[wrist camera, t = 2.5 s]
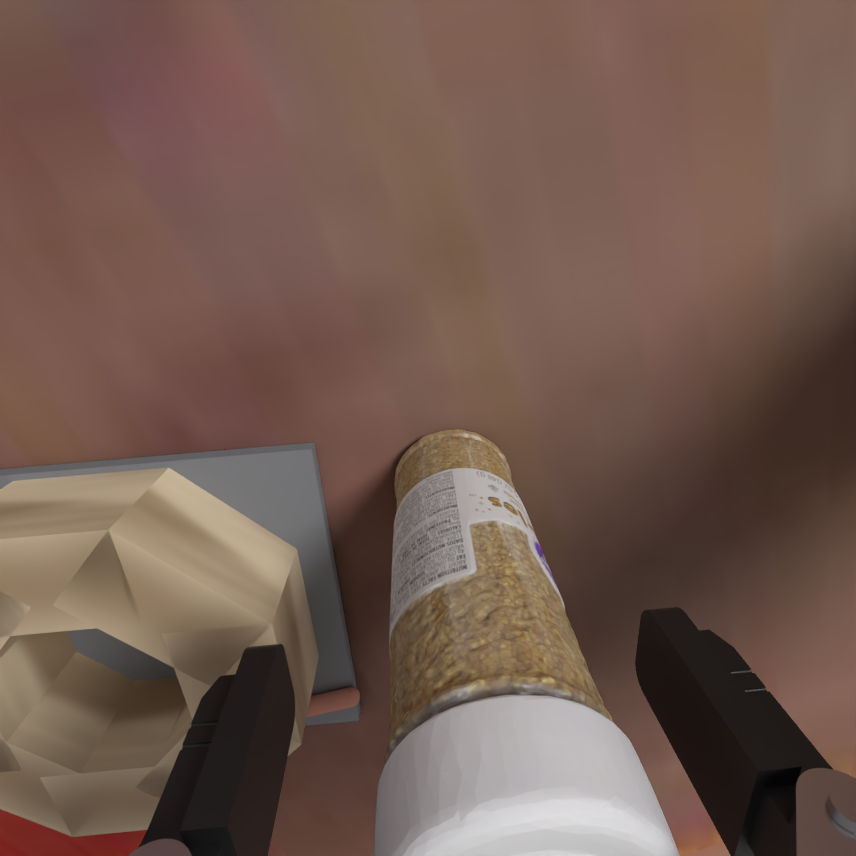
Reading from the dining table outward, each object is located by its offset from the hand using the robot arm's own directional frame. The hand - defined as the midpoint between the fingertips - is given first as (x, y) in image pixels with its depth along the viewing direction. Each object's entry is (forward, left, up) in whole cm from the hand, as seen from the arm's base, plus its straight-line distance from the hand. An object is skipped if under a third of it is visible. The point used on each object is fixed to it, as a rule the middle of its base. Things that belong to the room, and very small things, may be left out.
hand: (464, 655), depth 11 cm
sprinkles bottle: (0, 0, -9) cm, 9 cm away
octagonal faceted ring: (+13, +5, -8) cm, 16 cm away
